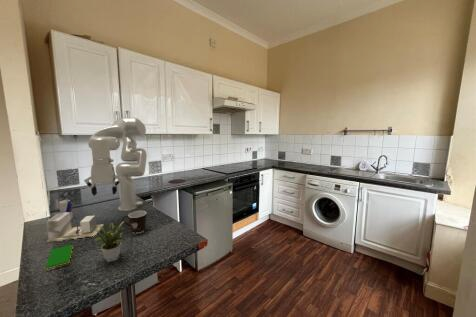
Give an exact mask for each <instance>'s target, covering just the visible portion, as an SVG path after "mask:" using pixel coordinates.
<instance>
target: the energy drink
mask: <svg viewBox="0 0 476 317" xmlns="http://www.w3.org/2000/svg"><path fill="white" fill-rule="evenodd" d="M58 207H59V213H65V212H70V219H71V221H73V219H74V214H73V207H72V200H71V199H63V200H59V202H58Z"/></svg>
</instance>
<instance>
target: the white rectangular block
mask: <svg viewBox="0 0 476 317" xmlns="http://www.w3.org/2000/svg"><path fill="white" fill-rule="evenodd" d="M79 224H80V226H79V227H81V230H80V231H79V234H81V233H87V232H92V231H93V229H94V228H95V227H96V226H97V225H98V224H97V216H96V215H86V216H84V218H83V219H81V220H80V221H79Z"/></svg>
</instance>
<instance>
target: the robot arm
mask: <svg viewBox="0 0 476 317" xmlns="http://www.w3.org/2000/svg"><path fill="white" fill-rule="evenodd" d="M146 132H147V128H146V125H145V124H144V123H143V122H142V120H140V119H139V118H137V117H118V118H117V119H116V120H115V121H114V123H113V124H111V125H110V126H107V127H105V128H103V129H99V130H97V131H95V132H94V133H93V134H92V135H91V136H90V137H89V139H88V142H87V143H88V147H89V149H90V150H91V157H92V164H91V167H90V168H91V170H90V176H89V177H88V178H85V179H84V180H83V181H84V183H85V184H86V185H87V186H88V187H89V188H90V189H91V194H92V196H93V197H95V196H96V195H97V193H98V192H97V186H96V185H103V184H111V186H112V190H111V192H112V195H116V193H117V192H118V195H119V206H118V207H117V210H118V211H120V212H129V211H130V212H131V211H133V210H136V209H138V208H139V206H141V205H143V201H142V200H140V201H139V200H138V199H137V197H136V186H135V185H136V183H135V180H134V179H133V178H134V177H136V178H137V177H143V176H144V175H145V172H146V165H147V158H148V157H147V156H148V155H147V151H146V149H144V148H141V147H139V148H137V141H136V140H135V139H134V138H133V136H134V137H135V136H136V137H138V136H141V137H142V136H145V134H146ZM120 139H122V147H121V154H120V159H121V161H122V162H119V163H118V164H117V165H116V166H115V167H114V164H113V162H114V159H113V158H112V157H111V153H110V152H111V151H116V150H118V149H119V148H120V146H121V142H120ZM116 180H117V181H116ZM90 181H91V182H90ZM117 186H118V187H117ZM117 188H118V189H117Z"/></svg>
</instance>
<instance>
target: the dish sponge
mask: <svg viewBox="0 0 476 317" xmlns="http://www.w3.org/2000/svg"><path fill="white" fill-rule="evenodd" d="M73 245H74V244H68V245H65V246H60V247H57V248H53V249H51V251H50V254H49V257H48V259H47V261H46V262H47V263H46V264H45V270H46V269H48V268H51V267H55V266H58V265H62V264H66V263H69V262H70V258H71V259H72V257H71V253H72V254H73V251H72V249H73V250H74V246H73ZM70 263H71V262H70Z"/></svg>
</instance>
